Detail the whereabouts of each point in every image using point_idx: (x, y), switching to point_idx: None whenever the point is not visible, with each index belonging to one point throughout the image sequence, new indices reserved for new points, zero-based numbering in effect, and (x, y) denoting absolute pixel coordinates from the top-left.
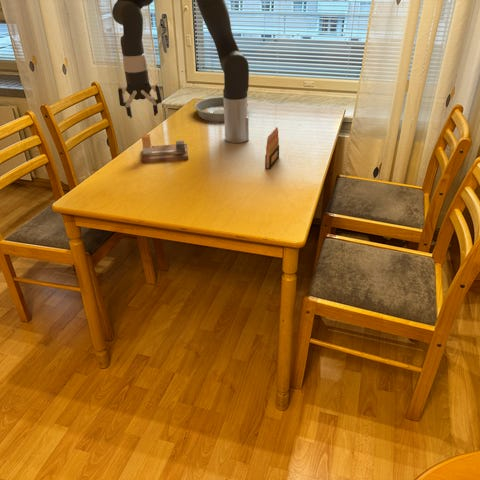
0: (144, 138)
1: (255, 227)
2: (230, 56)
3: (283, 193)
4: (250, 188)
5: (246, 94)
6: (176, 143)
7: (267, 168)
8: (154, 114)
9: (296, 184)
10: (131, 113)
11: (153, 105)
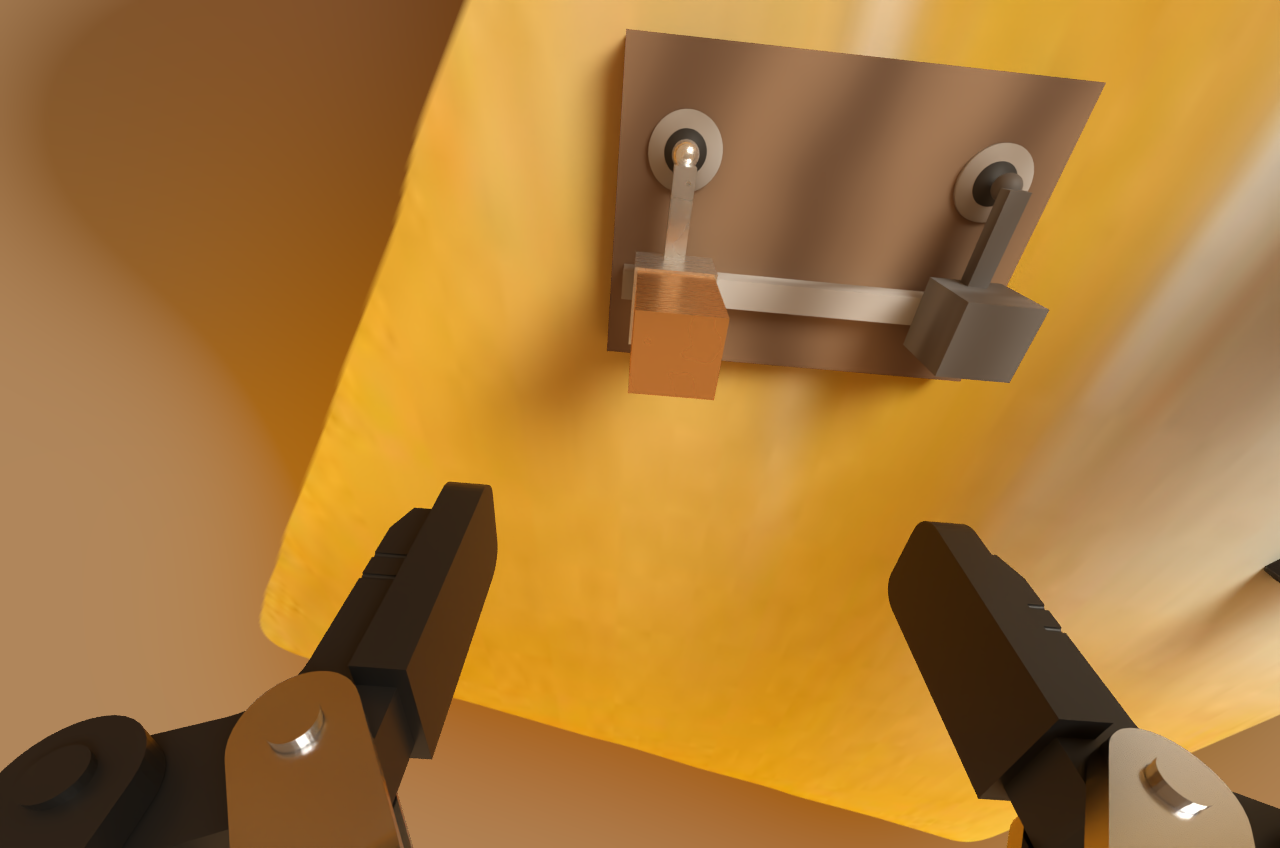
0: (657, 388)
1: (910, 805)
2: None
3: None
4: None
5: None
6: (950, 353)
7: (1273, 577)
8: (900, 617)
9: (1233, 689)
10: (475, 552)
11: (1000, 791)
